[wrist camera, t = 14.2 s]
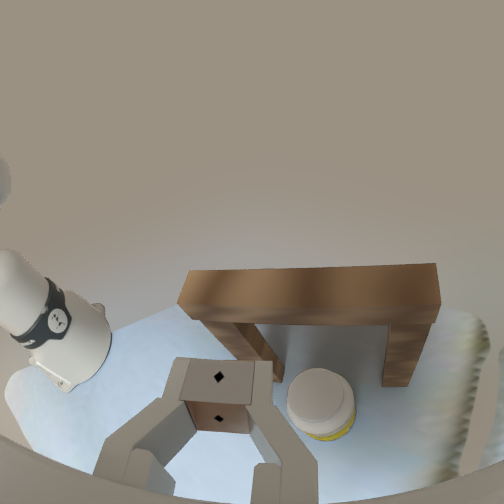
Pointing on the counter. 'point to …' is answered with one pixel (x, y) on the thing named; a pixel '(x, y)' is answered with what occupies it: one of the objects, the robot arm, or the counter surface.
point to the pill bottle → (321, 404)
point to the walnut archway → (318, 307)
